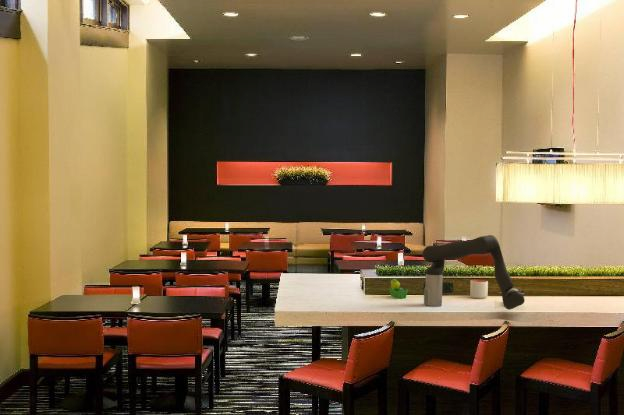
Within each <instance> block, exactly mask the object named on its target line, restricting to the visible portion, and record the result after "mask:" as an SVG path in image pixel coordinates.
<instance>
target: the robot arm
mask: <svg viewBox="0 0 624 415" xmlns="http://www.w3.org/2000/svg"><path fill="white" fill-rule="evenodd" d="M487 254H488V255H489V254H490V255H491V257H492V259H493V264H494V270H493V272H494V278H495V281H496V283H497V284H498V287H499V289H500V290H499V295H501V298H502V301H503V304H504V307H505V308H506V309H505V310H508V311H509V310H510V311H511V310H514V309H513V308H515V307H518V306H520V305H522V304H523V303H524V304H525V301H526V300H525V291H524V290H520V289H518V288H517V287H515V284H514V282H513V280H512V278H511V276H510V273H509V271H508V268H507V266H506V262H505V261H504V256H503V251H502V250H501V245H500V244H499V241H498V238H497V237H496V236H495V235H492V234H491V235H490V234H488V235H482V236H479V237H476V238H473V239H470V240H464V239H463V240H462V239H461V240H456V241H451V242H447V243H444V244H440V245H427V246H426V247H425V248H424V249H423V251H422V255H421V256H422V258H423V260H425V262H427V263H432V264H431V265H430V266H429V267H427V268H426V269H425V287H424V289H423V305H425V306H428V307H441V306H442V305H443V274H444V273H443V272H444V270H445V260H457V259H463V258H466V257H468V256H471V255H487Z"/></svg>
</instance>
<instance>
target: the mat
mask: <svg viewBox="0 0 624 415" xmlns="http://www.w3.org/2000/svg"><path fill="white" fill-rule="evenodd" d="M494 309H498V310H499V309H500V310H507V309H506V308H505V307H504V304H503V300H502V301H501V300H500V301H499V300H494ZM512 310H520V311H526V307H525V302H524V303H523V304H522V305H520V306H518V307H515V308H513V309H512Z"/></svg>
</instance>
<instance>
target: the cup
mask: <svg viewBox="0 0 624 415" xmlns="http://www.w3.org/2000/svg"><path fill="white" fill-rule="evenodd" d="M469 286H470V287H469V289H470V290H469V296H470V298H472V299H476V298H477V299H479V300H482V299H487V298H488V293H489V292H488V290H489V288H488V287H489V281H488V280H484V279H470V285H469Z"/></svg>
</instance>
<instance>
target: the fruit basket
mask: <svg viewBox="0 0 624 415" xmlns="http://www.w3.org/2000/svg"><path fill="white" fill-rule="evenodd" d="M388 290H389V293H390V297H392V298H394V299H397V300H400V299H401V300H403V299H405V300H406V298H407V296H408V292H409V289H406V288H404V287H401V283H400V282H399V281H398V280H397V279H396V278H393V279H391V281H390V287H388Z"/></svg>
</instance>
